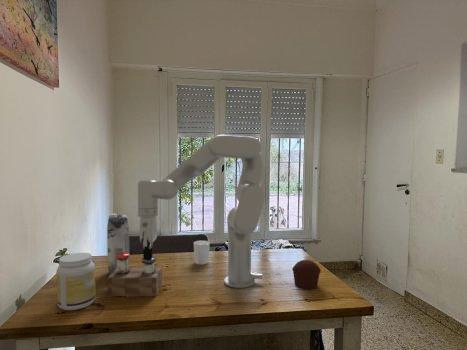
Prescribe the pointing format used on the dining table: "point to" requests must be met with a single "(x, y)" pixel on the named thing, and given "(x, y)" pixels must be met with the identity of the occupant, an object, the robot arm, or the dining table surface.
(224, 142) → the robot arm
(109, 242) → the juice carton
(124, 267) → the red plug
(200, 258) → the white cup
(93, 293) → the supplement tub
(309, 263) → the muffin
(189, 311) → the dining table surface
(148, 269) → the grey capped peg
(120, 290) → the wooden slotted frame
